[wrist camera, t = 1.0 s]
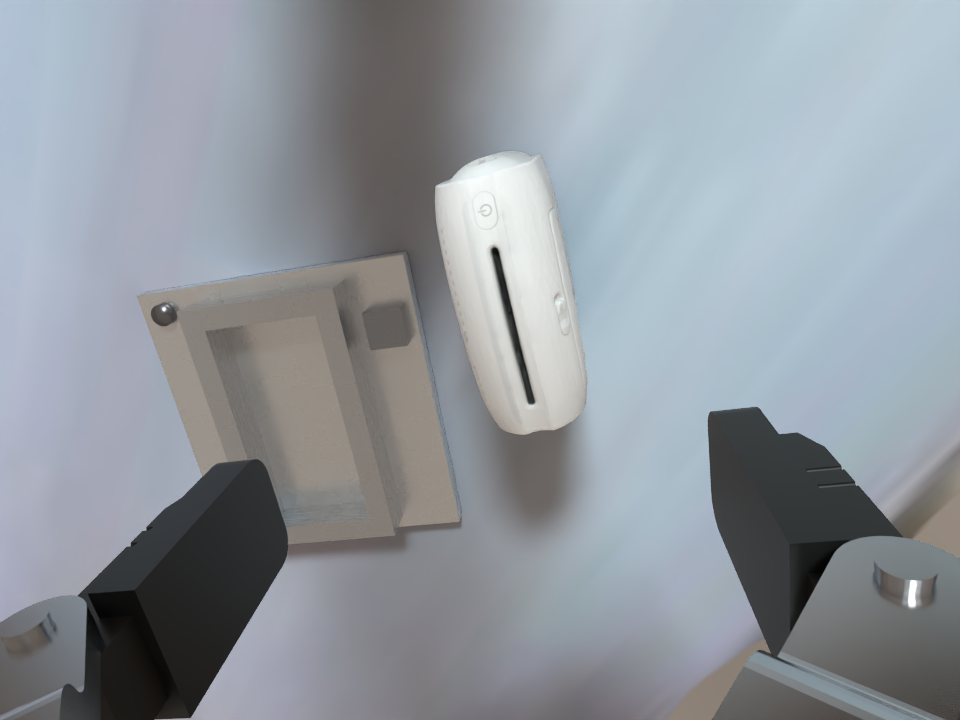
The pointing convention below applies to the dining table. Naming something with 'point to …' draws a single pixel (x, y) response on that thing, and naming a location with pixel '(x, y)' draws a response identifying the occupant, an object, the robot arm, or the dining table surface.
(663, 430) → the dining table surface
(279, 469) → the plate
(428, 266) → the dining table surface
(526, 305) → the photo printer
